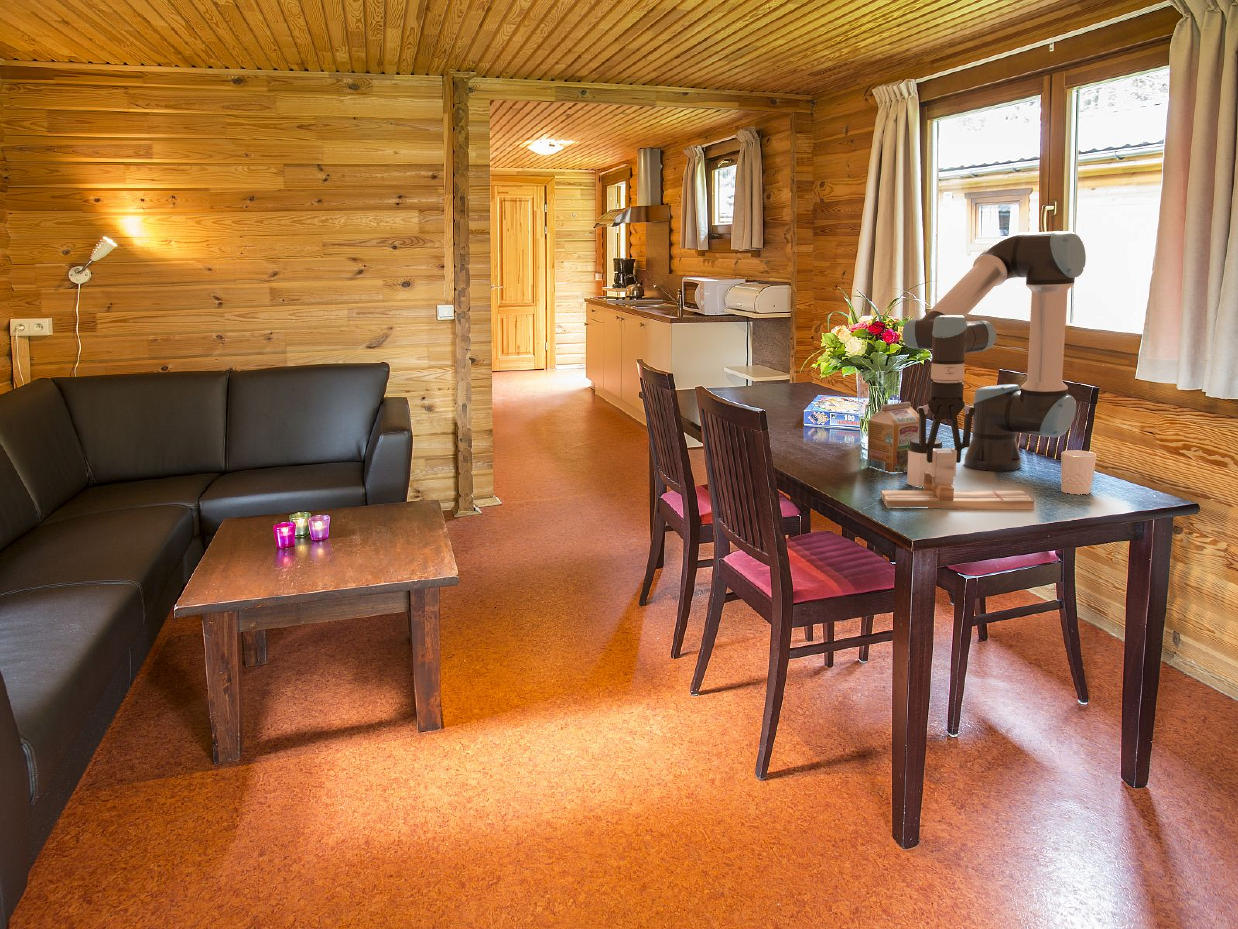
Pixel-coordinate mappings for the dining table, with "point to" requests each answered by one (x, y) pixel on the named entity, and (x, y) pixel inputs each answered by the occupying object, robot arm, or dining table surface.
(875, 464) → the milk carton
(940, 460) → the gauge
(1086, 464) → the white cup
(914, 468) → the jar
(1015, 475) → the dining table surface
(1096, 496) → the dining table surface
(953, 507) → the board
